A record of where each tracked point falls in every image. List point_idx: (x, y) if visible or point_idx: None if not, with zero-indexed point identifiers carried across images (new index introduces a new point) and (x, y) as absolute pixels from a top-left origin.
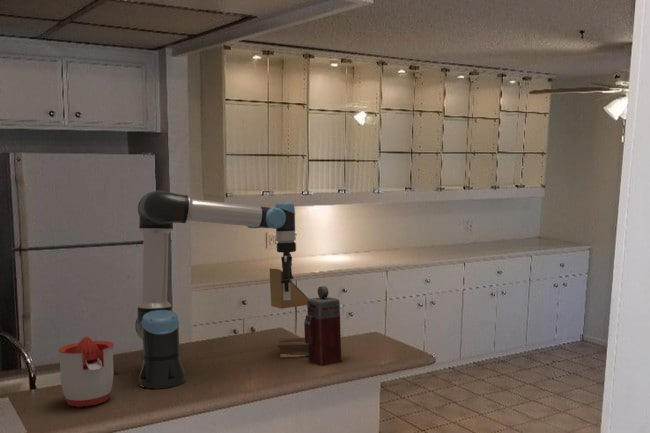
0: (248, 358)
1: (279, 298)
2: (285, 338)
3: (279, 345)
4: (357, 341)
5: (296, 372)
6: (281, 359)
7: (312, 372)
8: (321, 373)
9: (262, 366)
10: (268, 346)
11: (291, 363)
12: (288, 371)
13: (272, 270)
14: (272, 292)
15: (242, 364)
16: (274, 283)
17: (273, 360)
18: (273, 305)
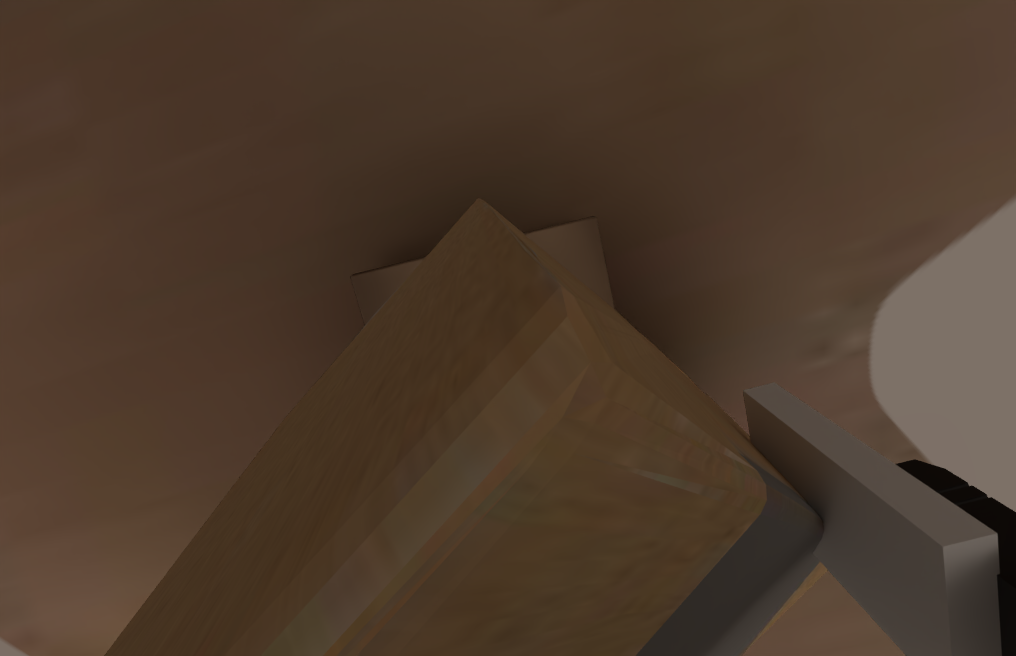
0: (329, 34)
1: (266, 446)
2: (601, 261)
3: (354, 289)
4: (865, 633)
5: (59, 482)
6: (343, 294)
7: (86, 568)
8: (80, 619)
9: (137, 223)
10: (717, 64)
11: (256, 391)
12: (67, 430)
13: (242, 617)
14: (425, 273)
15: (153, 53)
16: (317, 422)
17: (307, 247)
18: (425, 257)
